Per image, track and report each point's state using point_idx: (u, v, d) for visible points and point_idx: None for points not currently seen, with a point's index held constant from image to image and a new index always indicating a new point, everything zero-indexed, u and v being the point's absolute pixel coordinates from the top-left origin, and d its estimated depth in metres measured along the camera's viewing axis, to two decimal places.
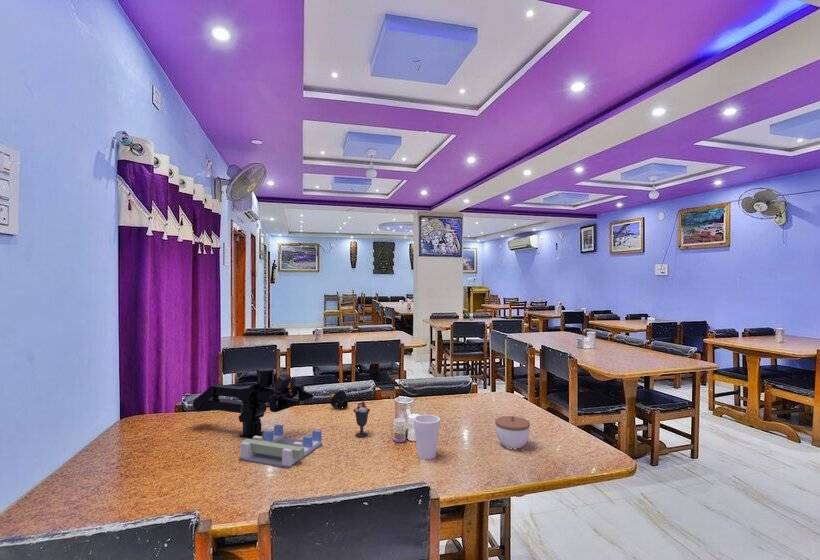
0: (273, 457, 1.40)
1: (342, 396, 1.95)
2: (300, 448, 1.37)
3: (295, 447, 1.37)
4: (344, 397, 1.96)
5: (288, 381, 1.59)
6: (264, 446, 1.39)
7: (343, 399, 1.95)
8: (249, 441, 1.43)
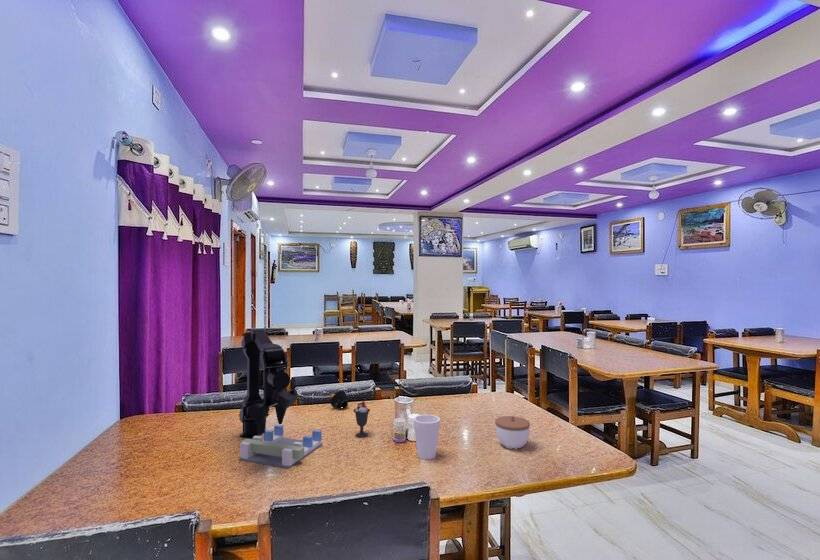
0: (273, 457, 1.40)
1: (342, 396, 1.95)
2: (300, 448, 1.37)
3: (295, 447, 1.37)
4: (344, 397, 1.96)
5: None
6: (264, 446, 1.39)
7: (343, 399, 1.95)
8: (249, 441, 1.43)
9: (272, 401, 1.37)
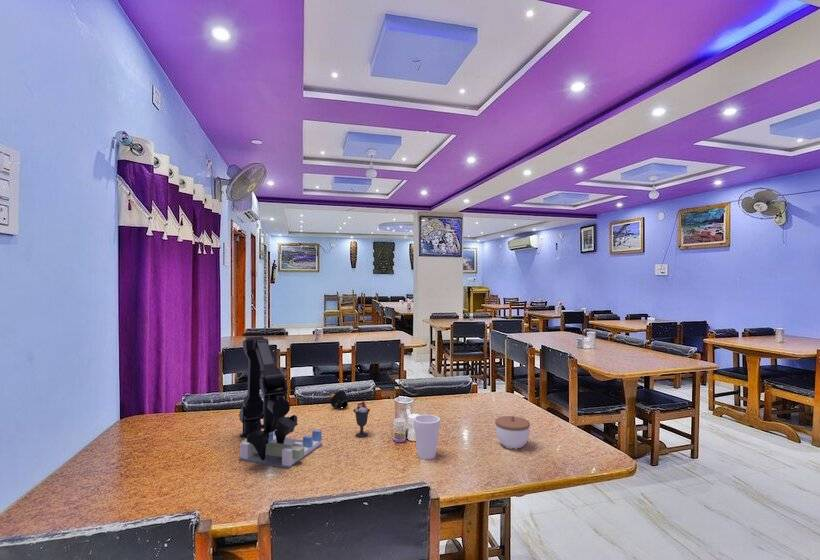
0: (273, 457, 1.40)
1: (342, 396, 1.95)
2: (300, 448, 1.37)
3: (295, 447, 1.37)
4: (344, 397, 1.96)
5: None
6: None
7: (343, 399, 1.95)
8: None
9: (272, 428, 1.37)
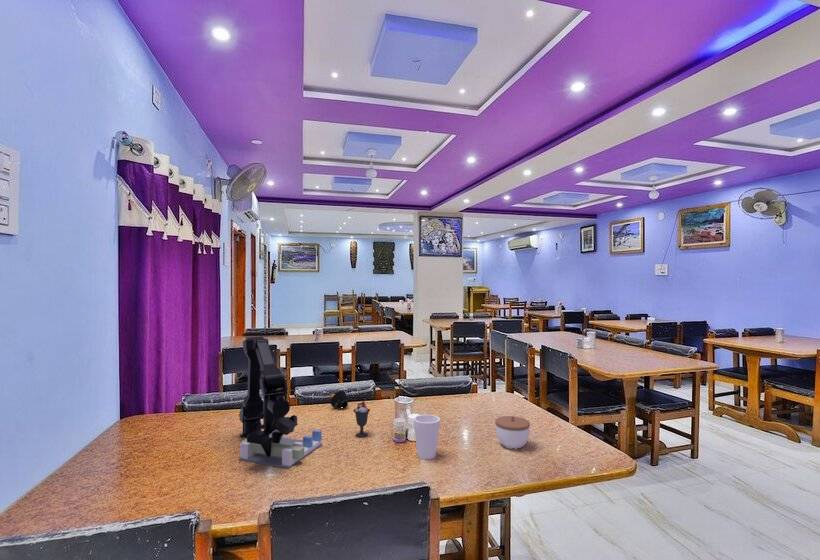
0: (273, 457, 1.40)
1: (342, 396, 1.95)
2: (300, 448, 1.37)
3: (295, 447, 1.37)
4: (344, 397, 1.96)
5: None
6: None
7: (343, 399, 1.95)
8: None
9: (272, 428, 1.37)
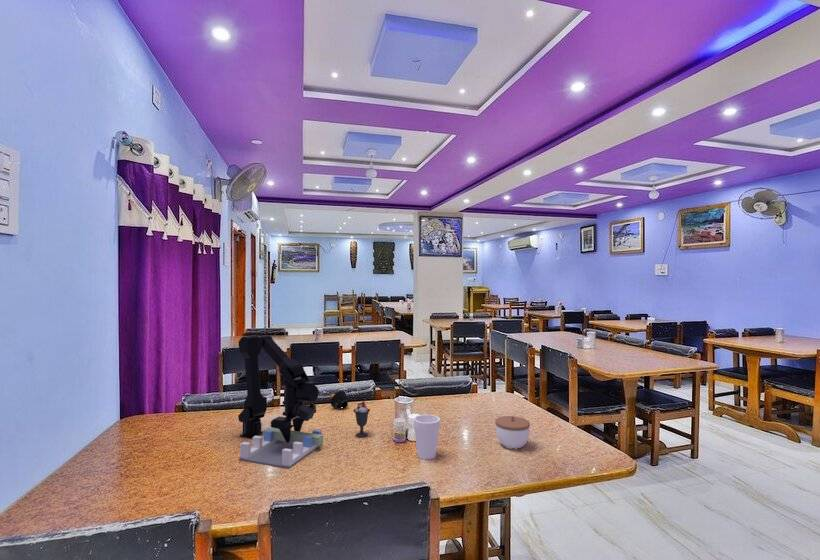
0: (273, 457, 1.40)
1: (342, 396, 1.95)
2: (319, 435, 1.49)
3: (315, 435, 1.49)
4: (344, 397, 1.96)
5: None
6: None
7: (343, 399, 1.95)
8: (271, 429, 1.55)
9: (293, 414, 1.48)
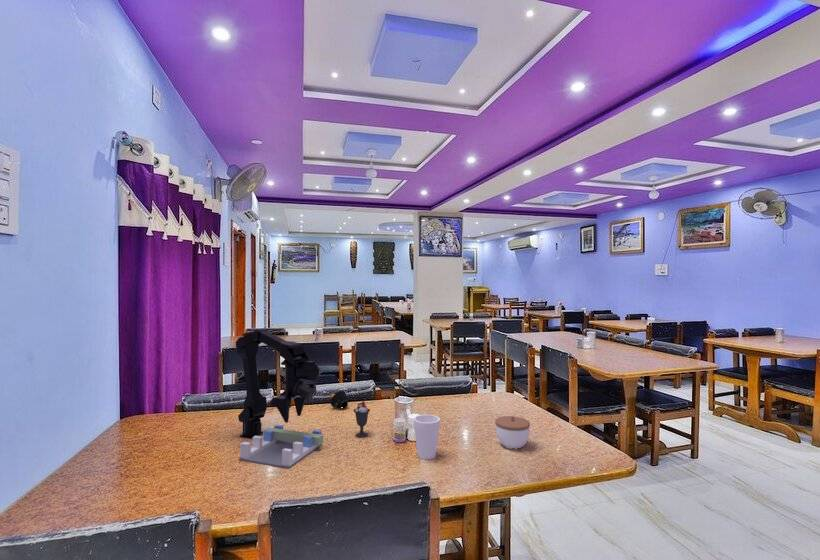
0: (273, 457, 1.40)
1: (342, 396, 1.95)
2: (319, 435, 1.49)
3: (315, 435, 1.49)
4: (344, 397, 1.96)
5: None
6: (286, 434, 1.51)
7: (343, 399, 1.95)
8: (271, 429, 1.55)
9: (293, 394, 1.48)
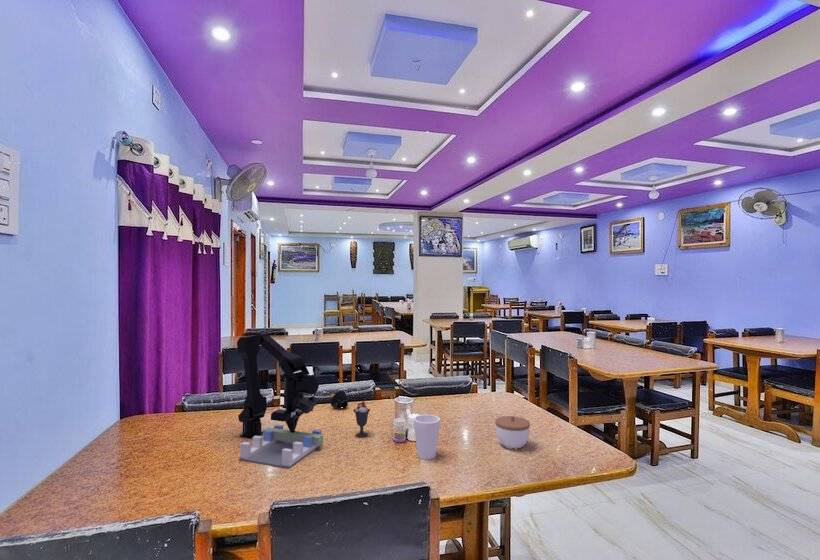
0: (273, 457, 1.40)
1: (342, 396, 1.95)
2: (319, 435, 1.49)
3: (315, 435, 1.49)
4: (344, 397, 1.96)
5: None
6: (286, 434, 1.51)
7: (343, 399, 1.95)
8: (271, 429, 1.55)
9: (293, 407, 1.48)
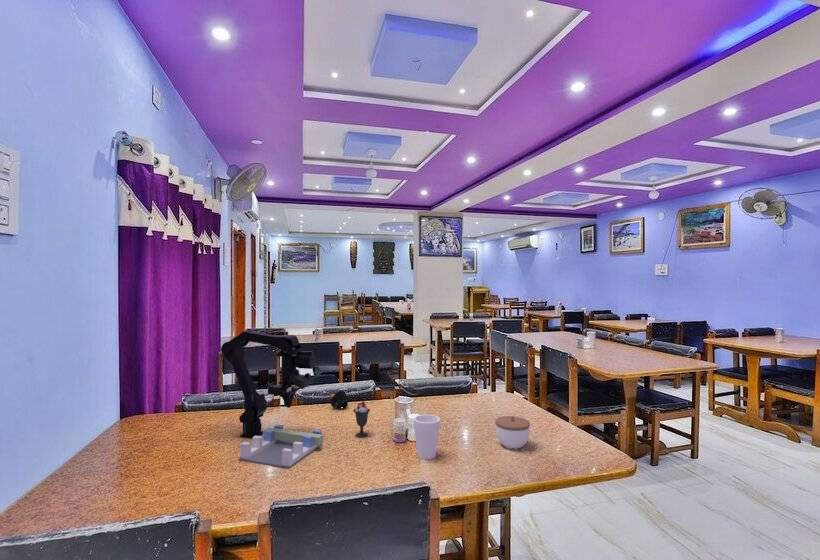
0: (273, 457, 1.40)
1: (342, 396, 1.95)
2: (319, 435, 1.49)
3: (315, 435, 1.49)
4: (344, 397, 1.96)
5: None
6: (286, 434, 1.51)
7: (343, 399, 1.95)
8: (271, 429, 1.55)
9: (289, 383, 1.56)
